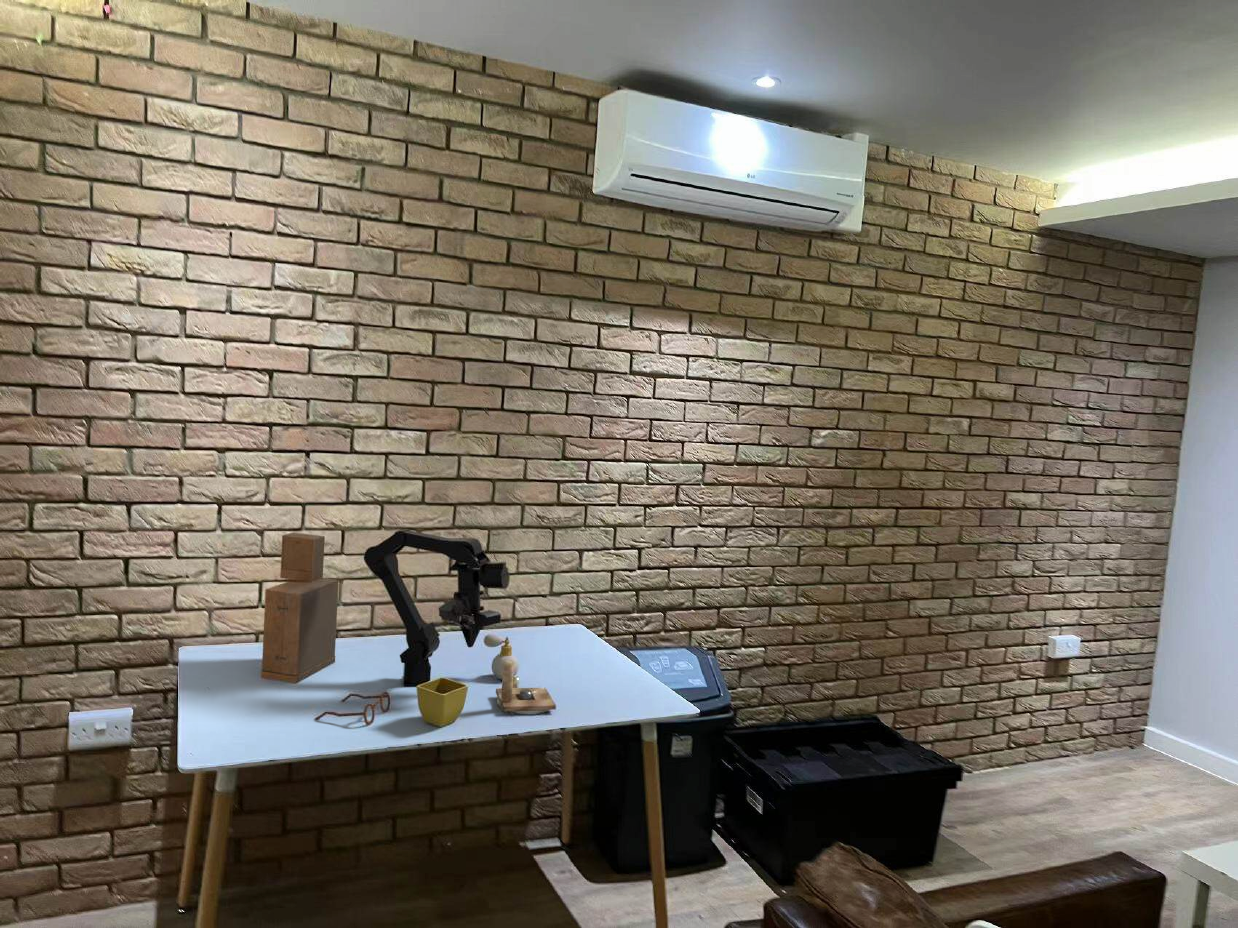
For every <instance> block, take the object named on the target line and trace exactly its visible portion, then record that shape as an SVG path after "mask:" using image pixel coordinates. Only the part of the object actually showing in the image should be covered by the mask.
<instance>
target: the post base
mask: <svg viewBox="0 0 1238 928" xmlns="http://www.w3.org/2000/svg"><path fill="white" fill-rule="evenodd" d="M519 685H520V677H519V676H514V677H513V686H512V688H519ZM531 696H532V691H530V690H521V691H520V697H519V698H518V700H533V698H532V697H531ZM496 700H497V703H496V705H498V706H497V707H499V708H501V709H502V710H501V709H500V710H501V711H503V708H502V706H501V703H500V701H499V699H498V698H497V699H496ZM499 708H498V709H499ZM507 712H508V714H511V713H513V714H512V715H516V714H517V715H516V716H537V715H538V716H539V715H543V714H546V713H549V712H550V711H549V710H518V711H506V712H505V713H507Z"/></svg>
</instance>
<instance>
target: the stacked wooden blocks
mask: <svg viewBox="0 0 1238 928" xmlns="http://www.w3.org/2000/svg"><path fill="white" fill-rule="evenodd" d="M325 536H326V535H325ZM325 536H324V535H317V534H309V533H308V534H307V533H298V532H290V533H287V534H282V535H281V552H280V553H281V555H280V557H281V558H280V559H281V560H280V576H279V577H280V578H281V579H286V580H287V579H288V580H289V581H286V582H283V583H280V584H277V585H275V586H271V587H268V588H265V589H264V590H265V591H264V593H265V595H264V596H265V597H264V615H263V616H264V617H263V635H262V636H263V640H262V657H261V658H262V659H261V671H260V679H265V680H266V679H267V680H272V681H279V682H285V683H291V684H299V683H300V682H302V681H304V680H306V679H308V678H310V677H311V676H312V675H313V676H314V675H315V674H316V673H318V672H320V671H322V670H323V669H326V668H328V667H329V666H331V665H333V664H335V663H336V637H337V620H338V617H337V616H338V601H339V600H338V599H339V585H340V584H339V583H340V582H339V579H334V578H327V577H324V563H325V560H324V559H325V544H326V543H325V541H326V540H325V538H326V537H325Z"/></svg>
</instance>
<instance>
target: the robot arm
mask: <svg viewBox="0 0 1238 928" xmlns="http://www.w3.org/2000/svg"><path fill="white" fill-rule="evenodd" d="M405 547H408V548H413V549H418V550H422V551H429V552H432V553H437V554H442V555H444V556H446V557H447V558H449V559H450V560H453V561H454V563H453V564H452V565H451V566H450V567H449V568H448V569H449V571H453V572H454V571H456V572H457V591H454V593H453V598H452V599H451V600H448V601H447V602H445V603H444V604H441V605H440V606H439V607H438V613H439V615H438V616H439V617H440V618H441V620H442V621H448V622H452V623H454V624H456V625H457V626H458V627H459V628H460V630H461V632H462V634H463V638H464V641H465V643H466V646H467V647H468V648H472V647H474V644H475V642H476V640H477V639H478V635H479V633H480V632H481V630H482V628H483V627H489V626H492V625H495V624H501V623H502V614H501V612H499V611H495V610H491V609H489V610H485V606H484V605H481V596H483V595H484V594H485V593H484V590H481V586H482V587H483V589H499V590H500V589H501V590H505V589H508V587H509V584H510V573H509V568H508V567H507V563H506V561H499V562H494V561H491V560H490V558H489V557H488V555H487V554H486V552H485V551H484V550H483V546H482V543H481V542H480V540H479V539H477V538H475V537H453V538H452V537H451V538H449V537H443V536H439V535H435V534H433V535H432V534H430V533H429V534H428V533H424V532H418V531H413V530H410V529H409V528H403V529H400V530H397V531H395V532H394V533H393V534H392V535H391V536H389V537H388V538H386V539H384V540H383V541H382V542H380V543H378V544H376V545H373V546H370V547H368V548H367V549H365V552H364V555H363V560H364V563H365V565H366V566H367V567H368V569H369V570H370V572H371V573H372V574H373V575H375V576H376V577H377V578H378V579H380V580H381V582H382V584H383V586H384V588H385V589H386V591H387V594H388V596H389V598H390V600H391V602H392V604H393V605H394V608H395V610H396V612H397V614H398V616H399V618H400V619H401V622H402V624H403V626H404V628H405V640H406V644H407V646H408V647H407V648H406V649H405V650H404V651H403V652H401V653H400V654H399V659H400V662H401V663H402V664H403V673H402V677H401V679H402V680H401V681H402V686H403V687H417V686H418V685H420V684H423V683H427V682H430V681H431V675H432V674H431V673H432V671H431V670H432V666H431V663H430V659H429V658H431V657H432V656H433V655H434V654H433V653H434V652H436V651H437V650H438V648H439V646H440V644H441V642H440V641H441V640H440V638H439V637H440V636H441V634H440V633H439V632H438V631H437V629H436V626H435V624H434V622H430V623H427V622H426V621H425V620H424V619H423V618H422V616H421V614H420V612H419V609H417V606H416V604H415V602H414V600H413V598H412V597H411V593H410V592H409V590H408V588H407V586H406V584H405V582H404V580H403V578H402V576H401V575H400V572H399V560H398V557H397V554H398V553H400V552H401V551H402V550H403V549H404V548H405Z"/></svg>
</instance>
